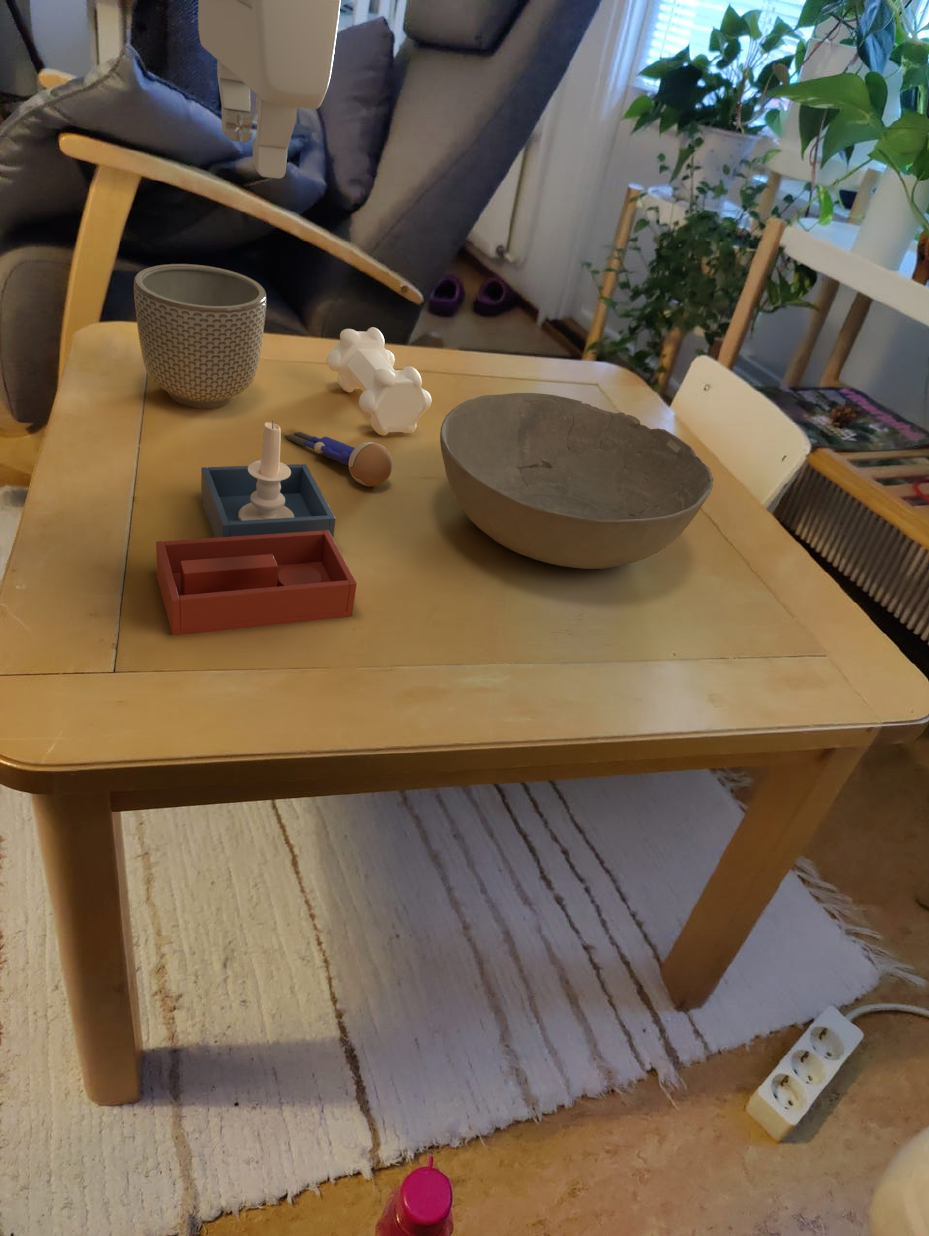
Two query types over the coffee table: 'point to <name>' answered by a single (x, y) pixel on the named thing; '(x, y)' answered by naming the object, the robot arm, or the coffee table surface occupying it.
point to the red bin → (263, 602)
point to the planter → (199, 331)
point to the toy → (352, 457)
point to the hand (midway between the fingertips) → (251, 156)
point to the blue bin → (233, 490)
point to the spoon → (241, 574)
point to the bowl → (570, 479)
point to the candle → (268, 480)
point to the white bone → (379, 381)
